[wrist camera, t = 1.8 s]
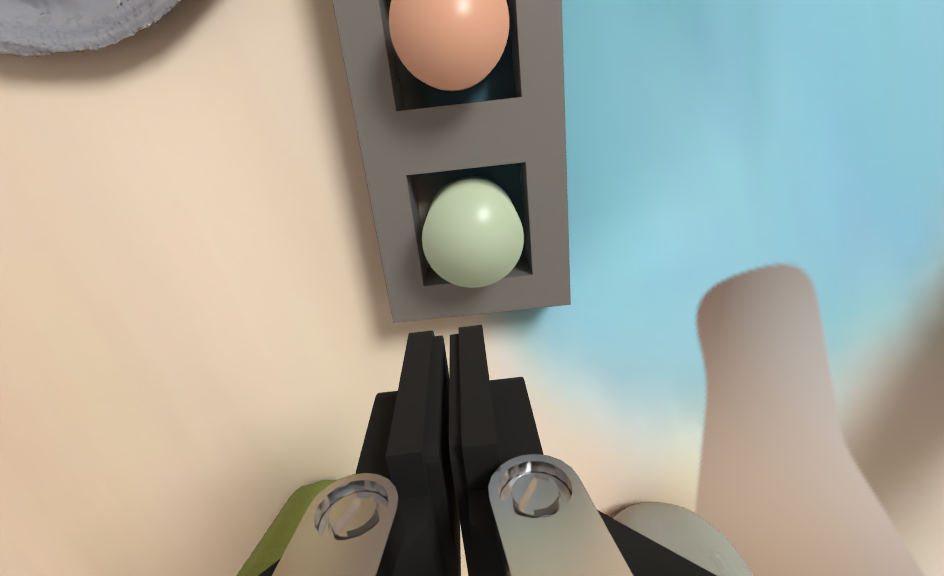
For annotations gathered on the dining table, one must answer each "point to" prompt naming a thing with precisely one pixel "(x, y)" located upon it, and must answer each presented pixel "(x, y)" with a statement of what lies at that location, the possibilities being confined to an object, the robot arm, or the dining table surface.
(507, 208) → the sage button
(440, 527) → the robot arm
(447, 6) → the peach rounded dome
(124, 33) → the food plate
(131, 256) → the dining table surface
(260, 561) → the plant pot
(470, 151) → the button panel
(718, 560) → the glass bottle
